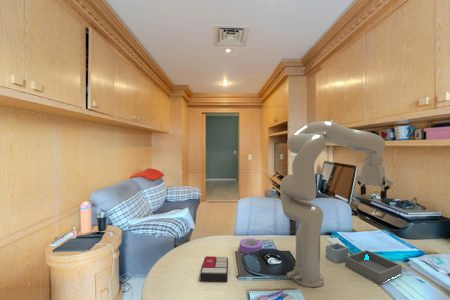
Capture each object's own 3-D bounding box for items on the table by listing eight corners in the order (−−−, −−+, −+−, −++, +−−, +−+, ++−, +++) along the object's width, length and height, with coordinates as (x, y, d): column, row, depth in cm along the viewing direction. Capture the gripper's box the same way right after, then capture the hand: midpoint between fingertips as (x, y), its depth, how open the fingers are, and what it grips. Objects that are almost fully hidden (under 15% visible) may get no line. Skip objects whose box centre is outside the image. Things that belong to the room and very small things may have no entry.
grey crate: (379, 285, 89) (379, 273, 89) (345, 266, 103) (345, 256, 102) (401, 275, 95) (401, 265, 95) (366, 259, 109) (366, 250, 109)
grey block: (336, 263, 105) (336, 251, 105) (325, 257, 111) (325, 245, 110) (347, 259, 108) (348, 247, 108) (337, 254, 114) (337, 242, 114)
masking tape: (248, 242, 127) (248, 236, 127) (266, 249, 119) (266, 242, 119) (235, 249, 119) (235, 242, 119) (252, 257, 111) (252, 250, 111)
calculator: (228, 255, 106) (227, 272, 91) (228, 264, 106) (227, 283, 91) (204, 255, 106) (200, 271, 91) (204, 264, 106) (200, 282, 91)
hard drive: (326, 238, 131) (339, 248, 118) (339, 237, 132) (354, 247, 119) (326, 241, 131) (339, 251, 118) (339, 240, 132) (354, 250, 119)
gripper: (352, 161, 117) (351, 193, 118) (387, 164, 102) (386, 201, 102) (361, 160, 120) (360, 192, 121) (397, 163, 105) (396, 199, 105)
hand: (372, 196), depth 111 cm, fingers open, 9 cm apart
